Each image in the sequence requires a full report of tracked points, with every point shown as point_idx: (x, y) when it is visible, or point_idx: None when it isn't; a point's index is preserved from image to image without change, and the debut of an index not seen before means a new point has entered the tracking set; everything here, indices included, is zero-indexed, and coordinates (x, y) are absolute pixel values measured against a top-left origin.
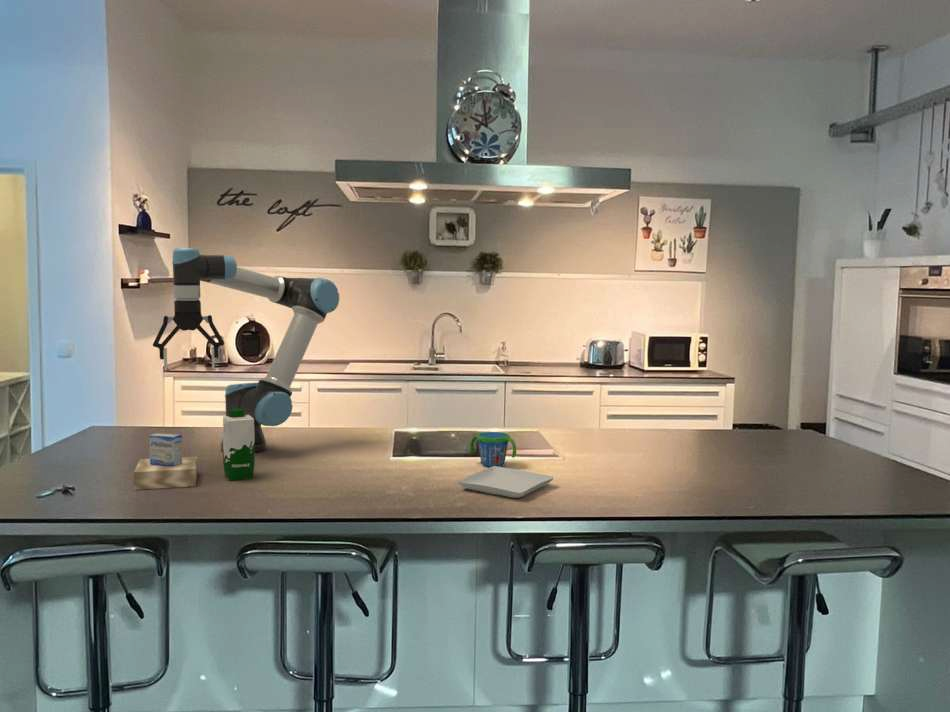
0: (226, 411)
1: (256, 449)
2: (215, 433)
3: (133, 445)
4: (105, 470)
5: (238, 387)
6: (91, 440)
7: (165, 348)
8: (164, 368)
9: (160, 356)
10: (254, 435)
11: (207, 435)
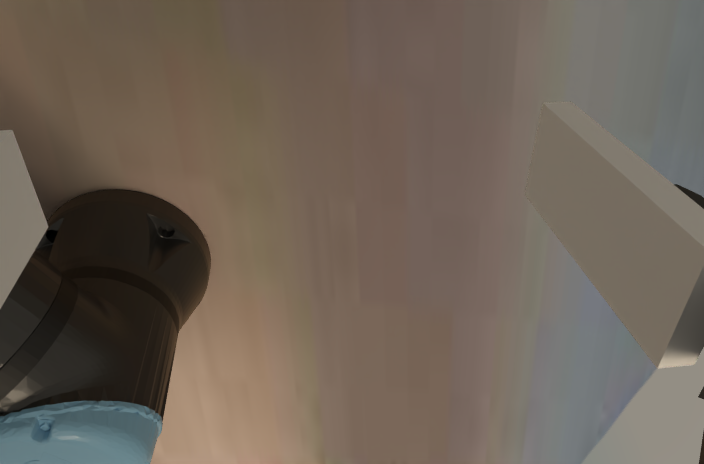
0: (161, 347)
1: (61, 209)
2: (258, 443)
3: (481, 340)
4: (595, 23)
5: (51, 418)
6: (579, 396)
7: (685, 337)
8: (579, 110)
9: (702, 206)
10: (54, 251)
11: (279, 425)
